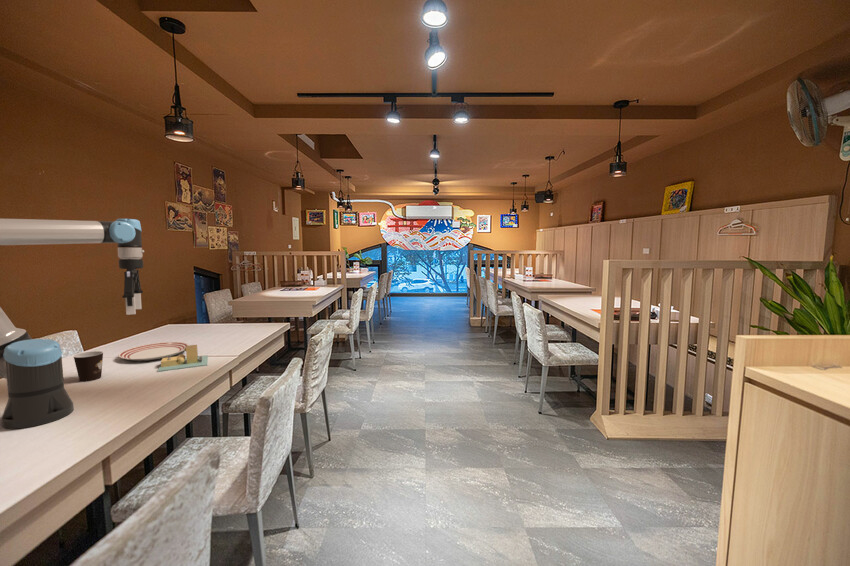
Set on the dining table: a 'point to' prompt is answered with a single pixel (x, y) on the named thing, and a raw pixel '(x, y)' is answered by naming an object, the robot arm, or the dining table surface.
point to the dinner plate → (153, 351)
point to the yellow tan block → (191, 354)
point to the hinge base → (204, 362)
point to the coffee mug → (89, 365)
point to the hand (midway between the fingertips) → (134, 311)
